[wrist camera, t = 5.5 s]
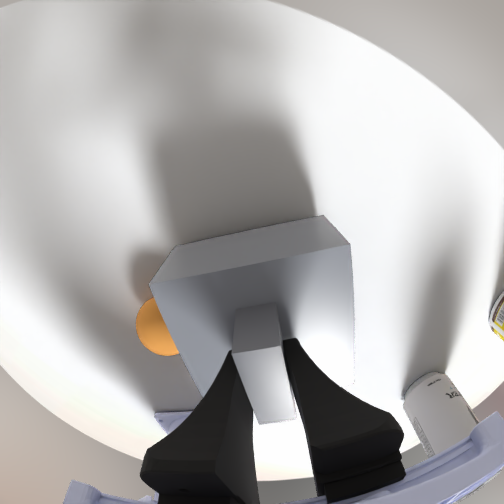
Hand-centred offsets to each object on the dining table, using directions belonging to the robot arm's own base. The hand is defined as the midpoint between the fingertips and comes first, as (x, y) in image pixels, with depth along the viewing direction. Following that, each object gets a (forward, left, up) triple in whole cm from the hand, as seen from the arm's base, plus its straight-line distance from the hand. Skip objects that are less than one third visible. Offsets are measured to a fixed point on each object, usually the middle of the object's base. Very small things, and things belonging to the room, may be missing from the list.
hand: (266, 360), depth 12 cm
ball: (0, +6, -5) cm, 8 cm away
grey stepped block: (0, 0, -6) cm, 6 cm away
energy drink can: (-17, -15, -7) cm, 24 cm away
